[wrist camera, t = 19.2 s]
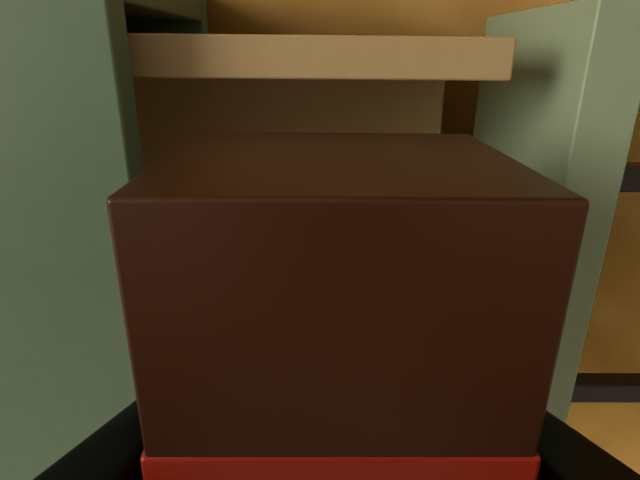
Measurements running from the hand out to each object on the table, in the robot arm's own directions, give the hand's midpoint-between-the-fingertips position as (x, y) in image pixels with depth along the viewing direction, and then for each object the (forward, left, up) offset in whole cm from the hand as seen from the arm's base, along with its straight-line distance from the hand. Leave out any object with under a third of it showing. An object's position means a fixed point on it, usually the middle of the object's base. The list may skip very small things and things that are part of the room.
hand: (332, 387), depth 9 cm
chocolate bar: (0, 0, -1) cm, 1 cm away
